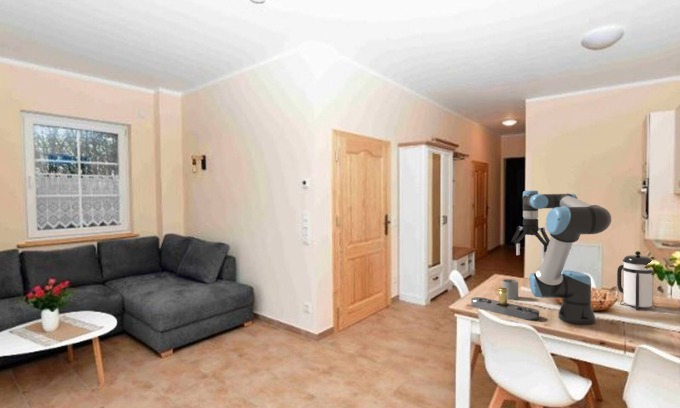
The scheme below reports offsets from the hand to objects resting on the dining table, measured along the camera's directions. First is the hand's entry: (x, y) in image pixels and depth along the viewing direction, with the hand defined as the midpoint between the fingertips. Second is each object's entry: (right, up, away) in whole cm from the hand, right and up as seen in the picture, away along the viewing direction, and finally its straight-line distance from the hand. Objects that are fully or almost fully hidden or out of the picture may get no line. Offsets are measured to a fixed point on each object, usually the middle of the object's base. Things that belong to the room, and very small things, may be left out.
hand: (530, 256), depth 202 cm
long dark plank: (-20, -28, -11) cm, 36 cm away
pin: (-20, -28, -10) cm, 36 cm away
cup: (-5, -27, +13) cm, 30 cm away
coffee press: (+53, -26, -7) cm, 59 cm away
